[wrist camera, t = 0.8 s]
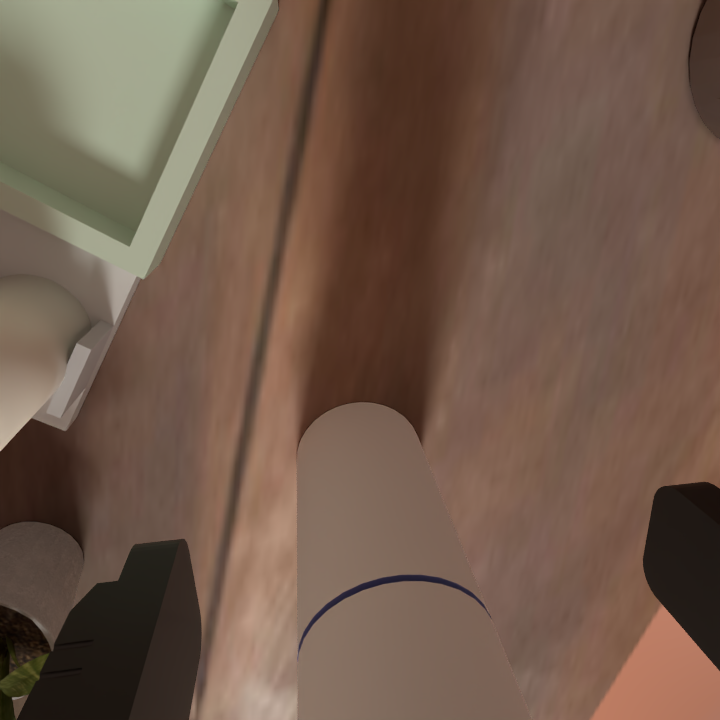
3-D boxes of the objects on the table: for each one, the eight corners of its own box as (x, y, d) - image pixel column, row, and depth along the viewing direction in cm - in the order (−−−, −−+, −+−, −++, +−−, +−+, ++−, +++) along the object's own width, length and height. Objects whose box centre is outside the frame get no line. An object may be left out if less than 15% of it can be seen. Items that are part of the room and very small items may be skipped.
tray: (-35, -209, 18) (-93, -269, 16) (278, 9, 22) (276, -8, 19) (-123, 119, 22) (-184, 117, 19) (160, 263, 25) (143, 279, 22)
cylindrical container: (424, 399, 30) (859, 1299, 7) (416, 504, 32) (707, 1393, 10) (294, 404, 29) (292, 1439, 6) (298, 511, 32) (306, 1496, 9)
